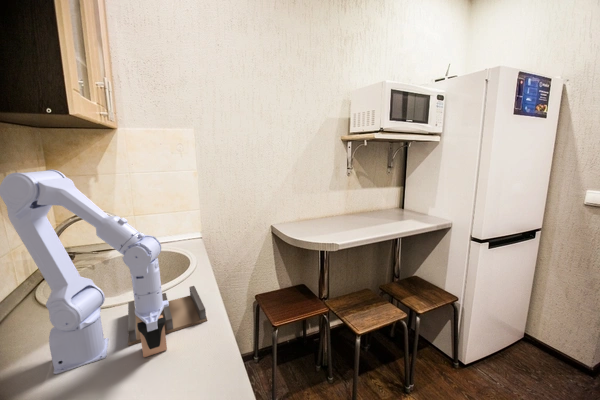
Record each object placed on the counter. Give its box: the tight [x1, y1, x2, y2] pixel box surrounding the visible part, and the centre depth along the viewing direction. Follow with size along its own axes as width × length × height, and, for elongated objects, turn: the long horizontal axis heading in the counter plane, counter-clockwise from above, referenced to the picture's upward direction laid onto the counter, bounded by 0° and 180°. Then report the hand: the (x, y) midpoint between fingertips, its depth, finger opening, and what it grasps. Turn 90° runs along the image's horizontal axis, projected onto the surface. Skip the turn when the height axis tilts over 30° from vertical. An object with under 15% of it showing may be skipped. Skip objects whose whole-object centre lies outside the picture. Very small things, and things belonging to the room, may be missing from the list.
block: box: [139, 315, 168, 359], centre depth 67 cm, size 5×4×7 cm
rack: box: [127, 285, 208, 346], centre depth 80 cm, size 19×16×4 cm
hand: (153, 341), depth 67 cm, fingers closed on block, 4 cm apart
